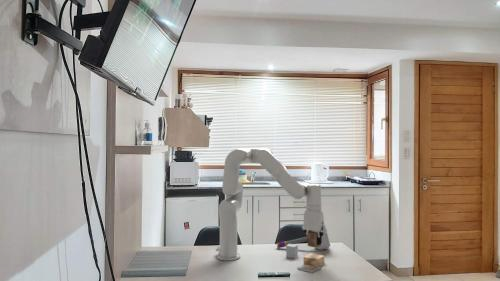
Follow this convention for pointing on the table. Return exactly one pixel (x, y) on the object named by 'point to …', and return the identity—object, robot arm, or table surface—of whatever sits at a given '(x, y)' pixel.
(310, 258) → the oak base
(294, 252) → the grey block
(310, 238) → the walnut block
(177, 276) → the table surface
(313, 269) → the swatch tile
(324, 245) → the hammer
